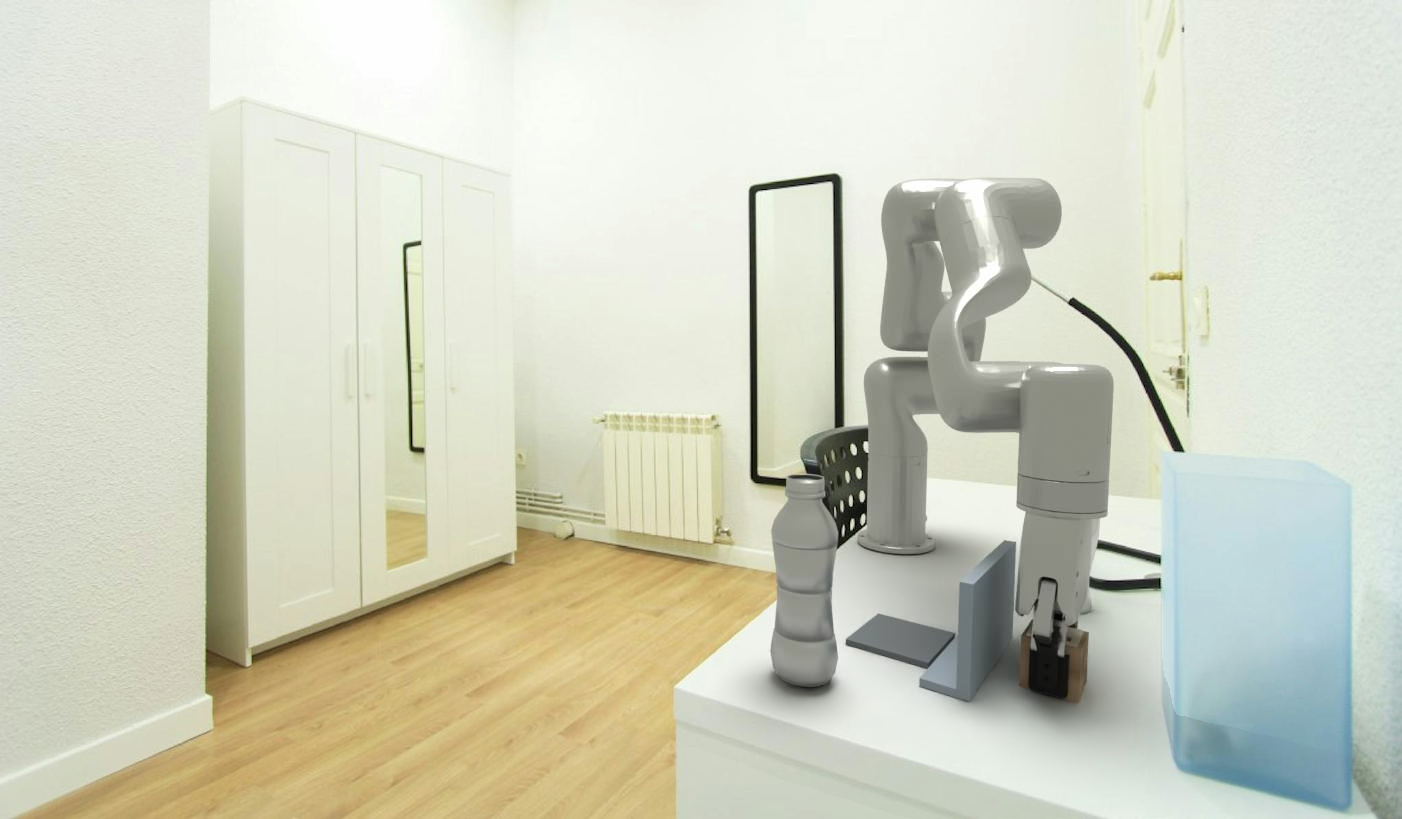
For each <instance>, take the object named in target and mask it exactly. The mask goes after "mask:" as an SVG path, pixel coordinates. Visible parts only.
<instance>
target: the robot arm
mask: <svg viewBox="0 0 1402 819" xmlns="http://www.w3.org/2000/svg"><path fill="white" fill-rule="evenodd" d="M1062 208H1063V207H1062V203H1061V199H1060V196H1059V194H1058V192H1057V190H1056V188H1055V187H1054V186H1053V185H1052V184H1051V183H1049V182H1048V181H1047V180H1044V179H1042V178H1035V177H974V178H918V179H915V178H914V179H910V180H905V181H902V182H899V183H897V184H895V185H893V186H892V187H891V188H890V189H889V190H888V192H887V193H886V195H885V198H884V200H883V203H882V208H881V214H880V217H881V218H880V220H881V221H880V225H881V233H882V238H883V243H884V249H885V254H886V256H885V257H886V271H885V272H886V273H885V279H884V280H885V281H884V287H883V295H882V305H881V306H882V307H881V314H880V327H879V333H880V334H879V335H880V339H881V341H882V344H883V346H885V347H886V348H888V349H890V350H893V351H898V352H899V351H900V352H913V353H914V352H919V353H920V352H921V353H923V352H927V356H889V357H884V358H879V359H876V360H874V361H873V362H871V363H870V364H869V365H868V367H867V368H866V370H865V372H864V376H863V390H864V391H863V392H864V398H865V405H866V413H867V430H868V433H867V434H868V435H867V438H868V439H867V442H868V443H867V444H868V445H867V447H868V448H867V451H868V452H867V453H868V455H867V496H866V498H867V500H866V502H867V503H866V507H867V508H866V510H867V511H866V529H864V530H861V531H860V532H858V533H857V535H856V537H857V538H856V540H857V543H858V544H859V545H860V546H862V547H864V548H866V549H869V550H873V551H876V552H880V553H887V554H896V555H897V554H898V555H917V554H918V555H919V554H924V553H929V552H931V551H933V550H934V549H935V547H936V540H935V539H934V538H933V536H931V535H929V534H927V533H926V527H927V526H926V525H927V524H926V523H927V521H928V516H927V485H928V484H927V481H928V448H929V446H928V440H927V437H926V434H925V433H924V431H923V430H922V429H921V427H920V425H918V423H917V422H916V421H915V419H914V417H913V416H914V415H915V416H916V415H940V417H941V419H942V420H943V422H944V423H945V424H946V426H948V427H949V428H951V429H952V430H955V431H957V432H961V433H974V434H981V433H982V434H983V433H986V434H989V433H997V434H998V433H1016V434H1018V453H1017V455H1018V456H1017V479H1016V480H1017V484H1016V486H1017V487H1016V501H1015V502H1016V503H1015V504H1016V505H1015V506H1016V508H1017V509H1019V510H1021V511H1023V512H1025V514H1024V518H1023V524H1022V531H1021V538H1020V546H1019V555H1018V556H1019V558H1018V569H1017V570H1018V571H1017V582H1016V591H1015V592H1016V595H1015V603H1014V606H1015V608H1014V611H1015V613H1016V614H1017V615H1018V616H1019V617H1024V616H1028V615H1029V614H1030V613H1031V611H1032V609H1033V616H1032V619H1033V626H1032V636H1031V646H1030V653H1029V678H1028V686H1029V688H1030V689H1029V690H1031V689H1032V691H1035V692H1039V693H1042V694H1046V695H1049V696H1053V697H1056V698H1059V699H1063V700H1065V699H1064V698H1066V697H1067V695H1068V679H1069V657H1070V655H1066V646H1067V634H1068V627H1071V628H1075V629H1079V628H1078V627H1079V625H1078V624H1079V616H1080V615H1081V614H1080V612H1081V610H1082V608H1083V606H1084V603H1085V601H1086V596H1087V590H1088V583H1089V584H1090V577H1089V574H1090V575H1091V571H1090V562H1091V546H1092V519H1100V520H1101V519H1103V518H1107V517H1108V513H1109V512H1108V511H1109V489H1110V468H1111V467H1110V464H1111V451H1112V450H1111V447H1112V431H1113V429H1112V428H1113V427H1112V426H1113V410H1114V409H1113V406H1114V392H1115V391H1114V389H1115V388H1114V385H1115V384H1114V378H1113V377H1114V376H1113V374H1112V373H1111V372H1110V370H1109V369H1108V368H1106V367H1104V366H1102V365H1098V364H1087V363H1085V364H1083V363H1081V364H1080V363H1062V362H1056V361H1055V362H1054V361H1020V360H1018V361H1017V360H1016V361H1015V360H1014V361H1013V360H1011V361H1010V360H1008V361H1007V360H990V361H989V360H981V357H982V352H983V349H984V348H983V347H984V343H985V342H984V341H985V337H986V336H985V335H986V330H987V329H986V328H987V318H988V317H991V316H993V315H996V314H999V313H1000V312H1003V311H1004V310H1006V309H1008V308H1009V307H1011V306H1014V304H1016V303H1017V302H1018V301H1020V300H1021V299H1022V298H1023V297H1024V296H1025V295H1027V293H1028V291H1029V289H1030V287H1031V284H1032V281H1033V280H1032V273H1031V269H1030V266H1029V263H1028V260H1027V257H1026V253H1025V251H1024V249H1025V250H1026V249H1027V250H1032V249H1033V250H1034V249H1038V248H1043V247H1044V246H1046V245H1047V244H1049V243H1050V242H1051V241H1052V240H1053V239H1054V237H1055V236H1056V235H1057V233H1058V232H1059V229H1060V226H1061V222H1062V216H1063V211H1062V210H1063V209H1062ZM936 242H939V245H940V248H939V247H938V245H937V244H936ZM940 249H941V251H940ZM945 269H946V270H945ZM945 271H946V273H947V276H948V277H947V278H948V282H949V285H950V288H951V291H942V290H943V289H942V288H943V280H944V274H945ZM1053 627H1058V628H1060V631H1059V637H1058V635H1057V633H1055V632H1053ZM1058 639H1059V641H1058Z"/></svg>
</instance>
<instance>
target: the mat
mask: <svg viewBox="0 0 1402 819" xmlns="http://www.w3.org/2000/svg"><path fill="white" fill-rule="evenodd" d="M955 637H956V632H953V631H949V630H945V629H942V628H938V627H933V626H930V625H925V624H922V623H918V622H914V621H911V620H910V621H909V620H906V619H902V618H897V617H894V616H889V615H886V614H882V613H877V614H876V615H874V616H873V617H871V619H869V620H868V621H867V622H865V623H864V624H863V625H861V626H860V627H859V628H857V629H856V631H854V632H852V633H851V635H849V636H847V637H846V638H845V645H846V646H850V647H854V648H856V649H860V650H863V651H867V652H871V653H875V654H876V655H881V656H884V657H887V658H890V659H894V660H897V661H900V662H905V663H908V664H911V665H915V666H918V667H922V668H925V669H928V668H929V667H930V666H931V664H932V663H933V662H934V661H935V660H936V659H937V658H938V656H939V655H940V654H941V653H942V652H943V651H944V650H945V649H946V647H947V646H948V645H949V644H950V643H951V642H952V641H953V639H954V638H955Z"/></svg>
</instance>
